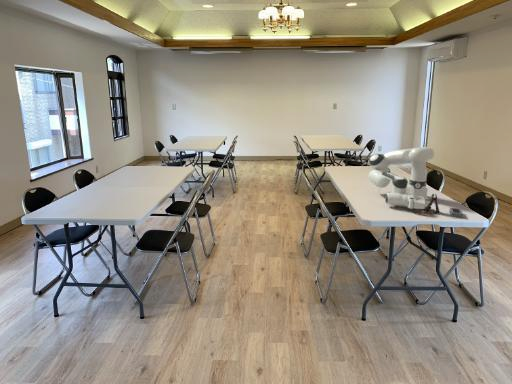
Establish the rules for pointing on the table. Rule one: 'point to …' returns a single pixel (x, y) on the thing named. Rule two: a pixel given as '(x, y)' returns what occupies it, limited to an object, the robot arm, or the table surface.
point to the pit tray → (456, 213)
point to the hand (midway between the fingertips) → (432, 203)
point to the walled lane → (427, 212)
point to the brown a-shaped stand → (431, 204)
